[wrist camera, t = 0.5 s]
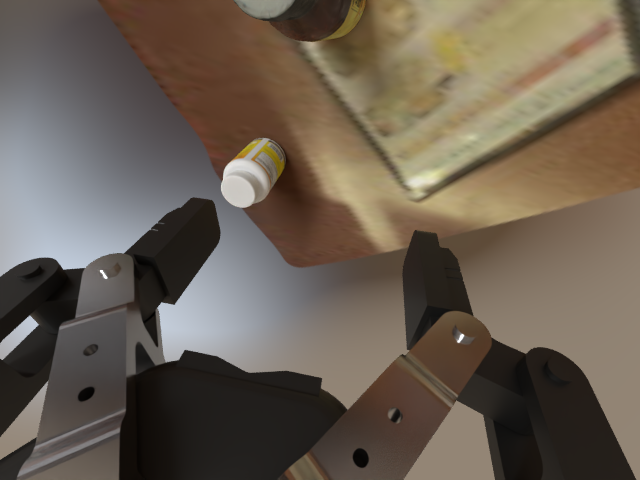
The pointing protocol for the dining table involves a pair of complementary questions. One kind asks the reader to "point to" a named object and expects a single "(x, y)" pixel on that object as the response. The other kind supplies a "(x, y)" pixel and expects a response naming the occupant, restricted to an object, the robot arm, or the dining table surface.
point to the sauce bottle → (307, 16)
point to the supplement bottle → (253, 173)
